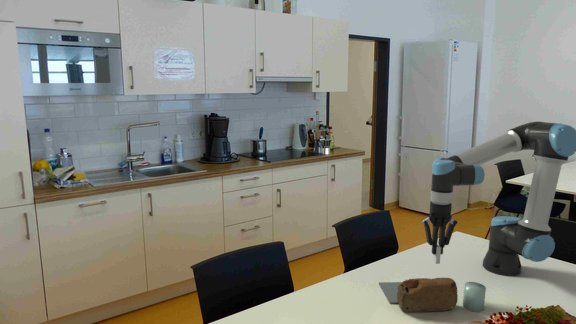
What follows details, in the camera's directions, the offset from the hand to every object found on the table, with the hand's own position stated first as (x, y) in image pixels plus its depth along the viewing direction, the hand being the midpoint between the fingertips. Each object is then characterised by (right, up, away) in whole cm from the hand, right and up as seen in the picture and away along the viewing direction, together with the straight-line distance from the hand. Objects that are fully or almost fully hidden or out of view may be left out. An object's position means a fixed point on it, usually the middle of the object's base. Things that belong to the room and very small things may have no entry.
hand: (436, 262), depth 163 cm
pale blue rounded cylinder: (+10, -14, -8) cm, 19 cm away
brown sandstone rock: (+3, -9, -9) cm, 13 cm away
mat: (-11, -12, +2) cm, 17 cm away
